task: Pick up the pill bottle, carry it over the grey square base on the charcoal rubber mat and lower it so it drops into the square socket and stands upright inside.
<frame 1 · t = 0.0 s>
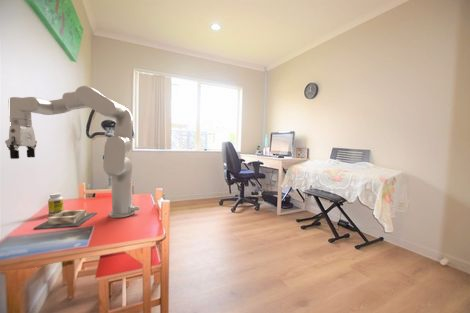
hand: (23, 157, 104), 31 cm above the table, tool pointing down, fingers open, 9 cm apart
grey square base: (68, 220, 104), on the table
pill bottle: (56, 213, 114), on the table
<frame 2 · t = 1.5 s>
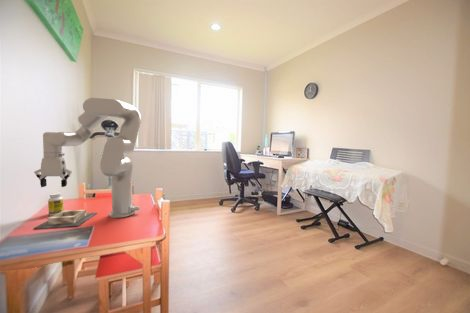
hand: (53, 186, 113), 15 cm above the table, tool pointing down, fingers open, 9 cm apart
nothing on the table moved.
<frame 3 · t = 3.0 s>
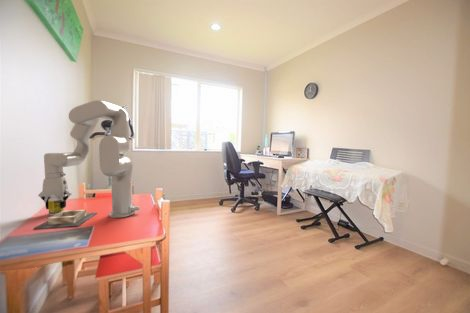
hand: (56, 207, 114), 3 cm above the table, tool pointing down, fingers closed on pill bottle, 6 cm apart
pill bottle: (56, 213, 114), on the table, touching gripper
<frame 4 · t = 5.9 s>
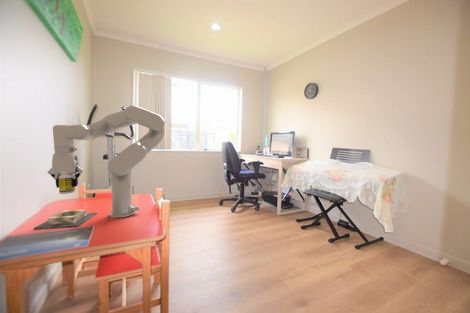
hand: (67, 186, 103), 17 cm above the table, tool pointing down, fingers closed on pill bottle, 6 cm apart
pill bottle: (67, 193, 104), point 14 cm above the table, touching gripper
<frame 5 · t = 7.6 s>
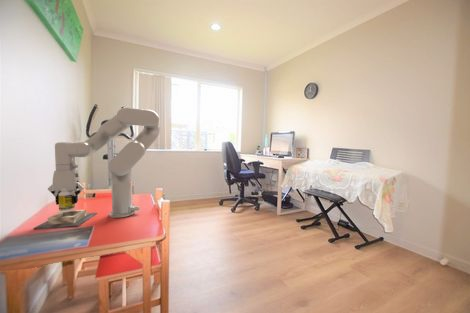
hand: (66, 203, 103), 9 cm above the table, tool pointing down, fingers closed on pill bottle, 6 cm apart
pill bottle: (67, 209, 103), point 6 cm above the table, touching gripper
when the fingers open (5 cm above the table, at t = 8.8 s): pill bottle drops 2 cm, resting on grey square base.
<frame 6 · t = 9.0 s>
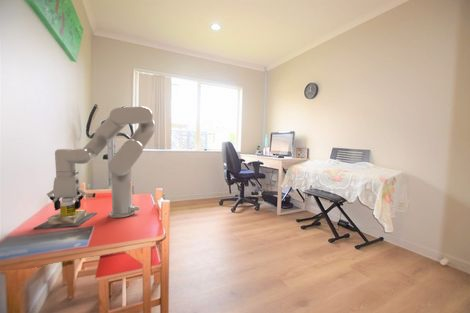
hand: (67, 208, 103), 6 cm above the table, tool pointing down, fingers open, 8 cm apart
pill bottle: (69, 219, 104), resting on grey square base
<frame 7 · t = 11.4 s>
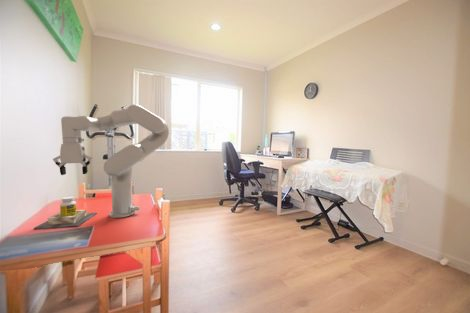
hand: (74, 174, 108), 23 cm above the table, tool pointing down, fingers open, 9 cm apart
nothing on the table moved.
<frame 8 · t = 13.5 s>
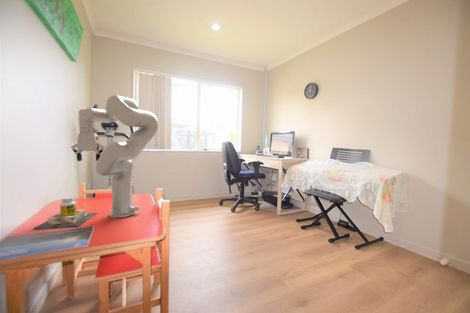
hand: (88, 160, 122), 28 cm above the table, tool pointing down, fingers open, 9 cm apart
nothing on the table moved.
at the end: pill bottle 0.3 cm off-centre on the grey square base, point 0.4 cm above the grey square base's base; pill bottle tilted 0°; the gripper is holding nothing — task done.
